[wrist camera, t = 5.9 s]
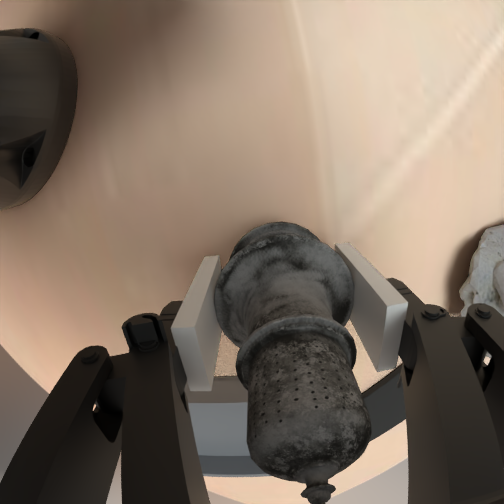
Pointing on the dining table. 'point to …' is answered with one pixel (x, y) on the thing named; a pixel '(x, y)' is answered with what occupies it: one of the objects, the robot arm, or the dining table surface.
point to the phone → (385, 404)
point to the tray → (222, 429)
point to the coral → (486, 273)
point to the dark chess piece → (294, 354)
